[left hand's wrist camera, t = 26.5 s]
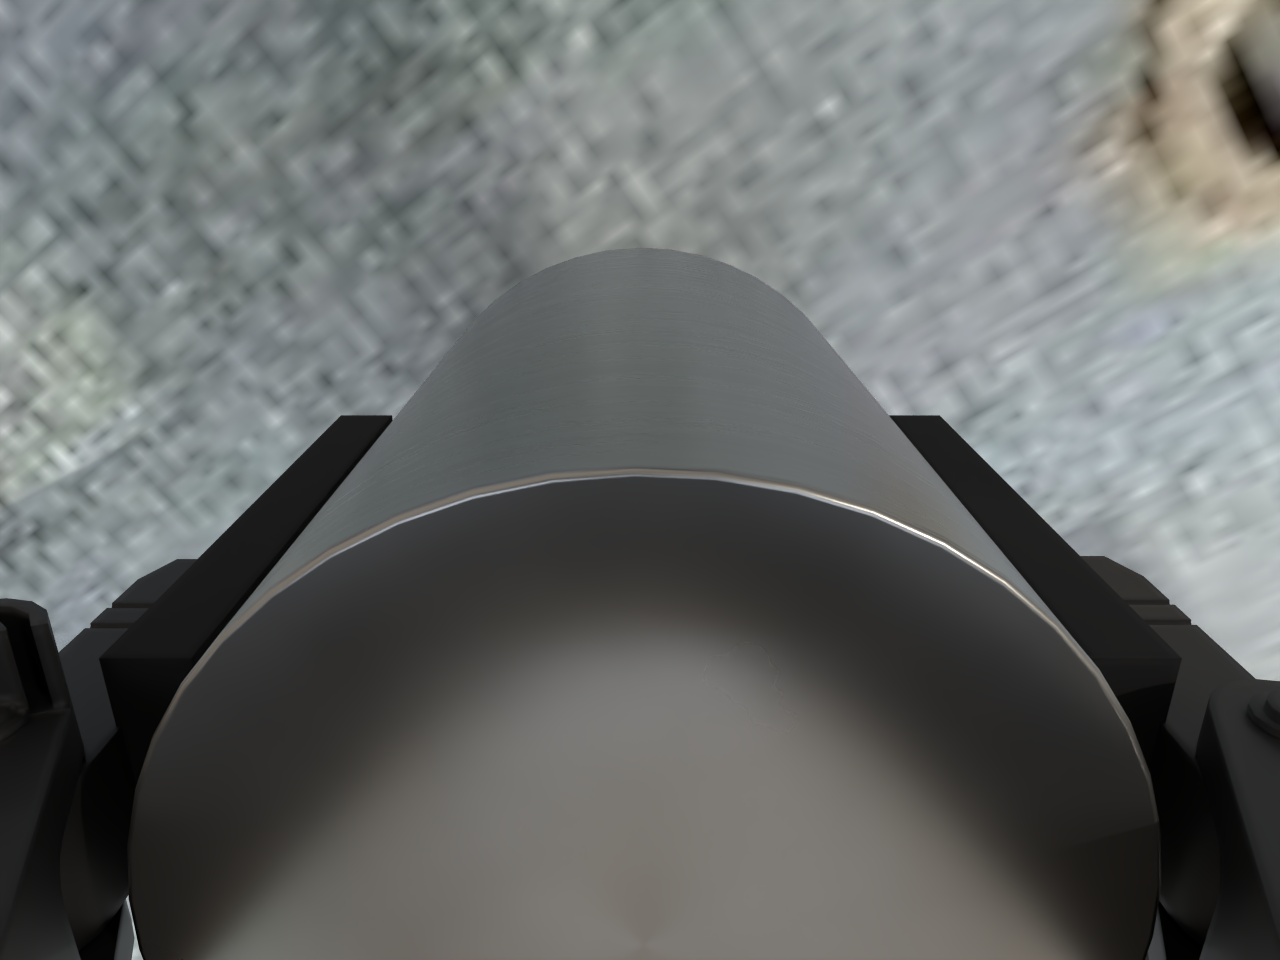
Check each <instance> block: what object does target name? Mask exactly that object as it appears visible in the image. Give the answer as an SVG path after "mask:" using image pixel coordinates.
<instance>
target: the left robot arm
mask: <svg viewBox="0 0 1280 960" xmlns="http://www.w3.org/2000/svg"><path fill="white" fill-rule="evenodd" d="M890 418H891V419H892V420H893V421H894V422H895V424H896V425H897V426H898V427H899V428H900V430H901V431H902V432H903V433H904V435H905V436H906V437H907V438H908V439H909V441H910V442H911V443H912V444H913V445H914V447H915V448H916V449H917V450H918V451H919V453H920V454H921V455H922V456H923V457H924V459H925V460H926V461H927V462H928V463H929V465H930V466H931V467H932V468H933V469H934V471H935V472H936V473H937V474H938V476H939V477H940V478H941V479H942V480H943V482H944V483H945V484H946V485H947V486H948V488H949V489H950V490H951V491H952V492H953V494H954V495H955V496H956V497H957V498H958V500H959V501H960V502H961V503H962V504H963V506H964V507H965V508H966V509H967V510H968V512H969V513H970V514H971V515H972V517H973V518H974V519H975V520H976V521H977V523H978V524H979V525H980V526H981V527H982V529H983V530H984V531H985V532H986V533H987V535H988V536H989V537H990V538H991V539H992V541H993V542H994V543H995V544H996V545H997V547H998V548H999V549H1000V550H1001V551H1002V553H1003V554H1004V555H1005V556H1006V558H1007V559H1008V560H1009V561H1010V562H1011V564H1012V565H1013V566H1014V567H1015V568H1016V570H1017V571H1018V572H1019V573H1020V574H1021V576H1022V577H1023V578H1024V579H1025V580H1026V582H1027V583H1028V584H1029V585H1030V586H1031V588H1032V589H1033V590H1034V591H1035V592H1036V594H1037V595H1038V596H1039V597H1040V598H1041V600H1042V601H1043V602H1044V603H1045V605H1046V606H1047V607H1048V608H1049V609H1050V611H1051V612H1052V613H1053V614H1054V615H1055V617H1056V618H1057V619H1058V620H1059V621H1060V623H1061V624H1062V625H1063V626H1064V627H1065V629H1066V630H1067V631H1068V632H1069V633H1070V635H1071V636H1072V637H1073V638H1074V639H1075V641H1076V642H1077V643H1078V644H1079V646H1080V647H1081V648H1082V649H1083V650H1084V652H1085V653H1086V654H1087V655H1088V656H1089V658H1090V659H1091V660H1092V661H1093V662H1094V664H1095V665H1096V666H1097V667H1098V668H1099V670H1100V671H1101V673H1102V675H1103V677H1104V678H1105V680H1106V682H1107V683H1108V685H1109V687H1110V688H1111V690H1112V692H1113V693H1114V695H1115V697H1116V698H1117V700H1118V702H1119V703H1120V705H1121V707H1122V708H1123V710H1124V712H1125V713H1126V715H1127V717H1128V718H1129V720H1130V722H1131V725H1132V727H1133V730H1134V733H1135V735H1136V738H1137V740H1138V743H1139V746H1140V748H1141V751H1142V754H1143V756H1144V759H1145V761H1146V764H1147V767H1148V769H1149V772H1150V775H1151V780H1152V785H1153V790H1154V796H1155V801H1156V806H1157V812H1158V817H1159V822H1160V828H1161V869H1162V886H1161V892H1160V898H1159V904H1158V910H1157V916H1156V922H1155V928H1154V934H1153V938H1152V941H1151V944H1150V947H1149V950H1148V953H1147V955H1146V958H1145V960H1280V681H1270V680H1259V679H1255V678H1254V677H1253V676H1252V675H1251V674H1250V673H1249V672H1247V671H1246V670H1245V669H1244V668H1243V667H1242V666H1241V665H1240V664H1239V663H1238V662H1237V661H1235V660H1234V659H1233V658H1232V657H1231V656H1230V655H1229V654H1228V653H1227V652H1226V651H1225V650H1223V649H1222V648H1221V647H1220V646H1219V645H1218V644H1217V643H1216V642H1215V641H1214V640H1213V639H1211V638H1210V637H1209V636H1208V635H1207V634H1206V633H1205V632H1204V631H1203V630H1202V629H1200V628H1199V627H1198V626H1197V625H1191V619H1190V618H1188V617H1187V616H1186V615H1185V614H1184V613H1183V612H1182V611H1181V610H1180V609H1179V608H1178V607H1176V606H1175V605H1170V604H1169V599H1168V598H1167V597H1166V596H1164V595H1163V594H1162V593H1161V592H1160V591H1159V590H1158V589H1157V588H1156V587H1155V586H1153V585H1152V584H1151V583H1150V582H1149V581H1148V580H1147V579H1146V578H1145V577H1144V576H1142V575H1140V574H1138V573H1136V572H1134V571H1132V570H1130V569H1128V568H1126V567H1124V566H1122V565H1120V564H1118V563H1116V562H1115V561H1113V560H1111V559H1109V558H1107V557H1105V556H1079V555H1078V554H1077V553H1076V552H1075V551H1074V550H1073V549H1072V548H1071V547H1070V546H1069V545H1068V544H1067V543H1066V542H1065V541H1064V540H1063V539H1062V538H1061V537H1060V536H1059V535H1058V534H1057V533H1056V532H1055V531H1054V530H1053V529H1052V528H1051V527H1050V526H1049V525H1048V524H1047V523H1046V522H1045V521H1044V520H1043V519H1042V518H1041V517H1040V516H1039V515H1038V514H1037V513H1036V512H1035V511H1034V510H1033V509H1032V508H1031V507H1030V506H1029V505H1028V504H1027V503H1026V502H1025V501H1024V500H1023V499H1022V498H1021V497H1020V496H1019V495H1018V494H1017V493H1016V492H1015V491H1014V490H1013V489H1012V488H1011V487H1010V486H1009V485H1008V484H1007V483H1006V482H1005V481H1004V480H1003V479H1002V478H1001V477H1000V476H999V475H998V474H997V473H996V472H995V471H994V470H993V469H992V468H991V467H990V466H989V465H988V464H987V463H986V462H985V461H984V460H983V459H982V458H981V457H980V456H979V455H978V454H977V453H976V452H975V451H974V450H973V449H972V448H971V447H970V446H969V445H968V444H967V443H966V442H965V441H964V440H963V439H962V438H961V437H960V436H959V435H958V434H957V433H956V432H955V431H954V430H953V429H952V428H951V427H950V425H949V424H948V423H947V422H946V421H945V420H944V419H943V418H942V417H941V416H890ZM391 422H392V416H340V417H339V418H338V419H337V420H336V421H335V422H334V423H333V424H332V425H331V426H330V427H329V428H328V429H327V430H326V431H325V432H324V433H323V434H322V435H321V436H320V437H319V438H318V439H317V440H316V441H315V442H314V443H313V444H312V445H311V446H310V447H309V448H308V449H307V450H306V451H305V452H304V453H303V454H302V455H301V456H300V457H299V458H298V459H297V460H296V461H295V462H294V463H293V464H292V465H291V466H290V467H289V468H288V469H287V470H286V471H285V472H284V473H283V474H282V475H281V476H280V477H279V478H278V479H277V480H276V481H275V482H274V483H273V484H272V485H271V486H270V487H269V488H268V489H267V490H266V491H265V492H264V493H263V494H262V495H261V496H260V497H259V498H258V499H257V500H256V501H255V502H254V503H253V504H252V505H251V506H250V507H249V508H248V509H247V510H246V511H245V512H244V513H243V514H242V515H241V516H240V517H239V518H238V519H237V520H236V521H235V522H234V523H233V524H232V525H231V526H230V527H229V528H228V529H227V530H226V531H225V532H224V533H223V534H222V535H221V536H220V537H219V538H218V539H217V540H216V541H215V542H214V543H213V544H212V545H211V546H210V547H209V548H208V549H207V550H206V551H205V552H204V553H203V554H202V555H201V556H200V557H199V558H198V559H177V560H175V561H173V562H171V563H169V564H167V565H165V566H163V567H161V568H159V569H157V570H155V571H153V572H152V573H150V574H148V575H146V576H144V577H142V578H140V579H138V580H137V581H136V582H135V583H134V584H133V585H131V586H130V587H129V588H128V589H127V590H126V591H125V592H124V593H123V594H122V595H121V596H120V597H118V598H117V599H116V600H115V601H114V602H113V603H112V608H107V609H105V610H104V611H103V612H102V613H101V614H100V615H99V616H98V617H97V618H96V619H95V620H94V621H92V622H91V627H90V628H85V629H84V630H83V631H82V632H81V633H79V634H78V635H77V636H76V637H75V638H74V639H73V640H72V641H71V642H70V643H69V644H68V645H66V646H65V647H64V648H63V649H62V650H61V651H60V652H59V653H58V650H57V646H56V642H55V639H54V635H53V631H52V628H51V624H50V620H49V617H48V613H47V610H46V609H44V608H42V607H41V606H39V605H37V604H36V603H34V602H32V601H24V600H16V599H8V598H5V599H0V960H131V959H132V952H133V945H134V933H133V926H132V920H131V916H130V913H129V909H128V905H127V902H126V898H127V896H128V895H129V888H128V860H127V843H128V836H129V829H130V822H131V815H132V808H133V801H134V794H135V788H136V785H137V782H138V779H139V776H140V773H141V770H142V767H143V764H144V761H145V758H146V755H147V752H148V749H149V746H150V743H151V740H152V737H153V735H154V733H155V731H156V729H157V727H158V725H159V724H160V722H161V720H162V718H163V716H164V714H165V712H166V711H167V709H168V707H169V705H170V703H171V701H172V699H173V698H174V696H175V694H176V692H177V690H178V688H179V686H180V685H181V683H182V682H183V680H184V679H185V678H186V676H187V675H188V674H189V673H190V671H191V670H192V669H193V667H194V666H195V665H196V664H197V662H198V661H199V660H200V658H201V657H202V656H203V655H204V653H205V652H206V651H207V650H208V648H209V647H210V646H211V644H212V643H213V642H214V641H215V639H216V638H217V637H218V635H219V634H220V633H221V632H222V630H223V629H224V628H225V627H226V625H227V624H228V623H229V622H230V621H231V619H232V618H233V617H234V616H235V614H236V613H237V612H238V611H239V609H240V608H241V607H242V606H243V605H244V603H245V602H246V601H247V600H248V598H249V597H250V596H251V595H252V593H253V592H254V591H255V590H256V588H257V587H258V586H259V585H260V584H261V582H262V581H263V580H264V579H265V577H266V576H267V575H268V574H269V572H270V571H271V570H272V569H273V568H274V566H275V565H276V564H277V563H278V561H279V560H280V559H281V558H282V556H283V555H284V554H285V553H286V552H287V550H288V549H289V548H290V547H291V545H292V544H293V543H294V542H295V540H296V539H297V538H298V537H299V536H300V534H301V533H302V532H303V531H304V529H305V528H306V527H307V526H308V524H309V523H310V522H311V521H312V520H313V518H314V517H315V516H316V515H317V513H318V512H319V511H320V510H321V508H322V507H323V506H324V505H325V503H326V502H327V501H328V500H329V499H330V497H331V496H332V495H333V494H334V492H335V491H336V490H337V489H338V487H339V486H340V485H341V484H342V483H343V481H344V480H345V479H346V478H347V476H348V475H349V474H350V473H351V471H352V470H353V469H354V468H355V467H356V465H357V464H358V463H359V462H360V460H361V459H362V458H363V457H364V455H365V454H366V453H367V452H368V451H369V449H370V448H371V447H372V446H373V444H374V443H375V442H376V441H377V439H378V438H379V437H380V436H381V434H382V433H383V432H384V431H385V430H386V428H387V427H388V426H389V425H390V423H391Z"/></svg>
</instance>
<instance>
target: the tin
mask: <svg viewBox="0 0 1280 960" xmlns="http://www.w3.org/2000/svg"><path fill="white" fill-rule="evenodd" d="M127 860H128V888H129V902H130V907H131V912H132V916H133V921H134V926H135V931H136V935H137V940H138V945H139V950H140V952H141V955H142V957H143V960H1145V958H1146V955H1147V953H1148V950H1149V947H1150V944H1151V941H1152V938H1153V934H1154V928H1155V922H1156V916H1157V910H1158V904H1159V898H1160V892H1161V886H1162V869H1161V828H1160V822H1159V817H1158V812H1157V806H1156V801H1155V796H1154V790H1153V785H1152V780H1151V775H1150V772H1149V769H1148V767H1147V764H1146V761H1145V759H1144V756H1143V754H1142V751H1141V748H1140V746H1139V743H1138V740H1137V738H1136V735H1135V733H1134V730H1133V727H1132V725H1131V722H1130V720H1129V718H1128V717H1127V715H1126V713H1125V712H1124V710H1123V708H1122V707H1121V705H1120V703H1119V702H1118V700H1117V698H1116V697H1115V695H1114V693H1113V692H1112V690H1111V688H1110V687H1109V685H1108V683H1107V682H1106V680H1105V678H1104V677H1103V675H1102V673H1101V671H1100V670H1099V668H1098V667H1097V666H1096V665H1095V664H1094V662H1093V661H1092V660H1091V659H1090V658H1089V656H1088V655H1087V654H1086V653H1085V652H1084V650H1083V649H1082V648H1081V647H1080V646H1079V644H1078V643H1077V642H1076V641H1075V639H1074V638H1073V637H1072V636H1071V635H1070V633H1069V632H1068V631H1067V630H1066V629H1065V627H1064V626H1063V625H1062V624H1061V623H1060V621H1059V620H1058V619H1057V618H1056V617H1055V615H1054V614H1053V613H1052V612H1051V611H1050V609H1049V608H1048V607H1047V606H1046V605H1045V603H1044V602H1043V601H1042V600H1041V598H1040V597H1039V596H1038V595H1037V594H1036V592H1035V591H1034V590H1033V589H1032V588H1031V586H1030V585H1029V584H1028V583H1027V582H1026V580H1025V579H1024V578H1023V577H1022V576H1021V574H1020V573H1019V572H1018V571H1017V570H1016V568H1015V567H1014V566H1013V565H1012V564H1011V562H1010V561H1009V560H1008V559H1007V558H1006V556H1005V555H1004V554H1003V553H1002V551H1001V550H1000V549H999V548H998V547H997V545H996V544H995V543H994V542H993V541H992V539H991V538H990V537H989V536H988V535H987V533H986V532H985V531H984V530H983V529H982V527H981V526H980V525H979V524H978V523H977V521H976V520H975V519H974V518H973V517H972V515H971V514H970V513H969V512H968V510H967V509H966V508H965V507H964V506H963V504H962V503H961V502H960V501H959V500H958V498H957V497H956V496H955V495H954V494H953V492H952V491H951V490H950V489H949V488H948V486H947V485H946V484H945V483H944V482H943V480H942V479H941V478H940V477H939V476H938V474H937V473H936V472H935V471H934V469H933V468H932V467H931V466H930V465H929V463H928V462H927V461H926V460H925V459H924V457H923V456H922V455H921V454H920V453H919V451H918V450H917V449H916V448H915V447H914V445H913V444H912V443H911V442H910V441H909V439H908V438H907V437H906V436H905V435H904V433H903V432H902V431H901V430H900V428H899V427H898V426H897V425H896V424H895V422H894V421H893V420H892V419H891V418H890V416H889V415H888V414H887V413H886V412H885V410H884V409H883V408H882V407H881V406H880V404H879V403H878V402H877V401H876V400H875V398H874V397H873V396H872V395H871V394H870V392H869V391H868V390H867V389H866V387H865V386H864V385H863V384H862V383H861V381H860V380H859V379H858V378H857V377H856V375H855V374H854V373H853V372H852V371H851V369H850V368H849V367H848V366H847V365H846V363H845V362H844V361H843V360H842V359H841V357H840V356H839V355H838V354H837V353H836V351H835V350H834V349H833V348H832V346H831V345H830V344H829V343H828V342H827V340H826V339H825V338H824V337H823V336H822V335H821V333H820V332H819V331H818V330H817V329H816V327H815V326H814V325H813V324H812V323H811V322H810V320H809V319H808V318H807V317H806V316H805V315H804V314H803V313H802V312H801V311H800V310H799V309H798V308H796V307H795V306H794V305H793V304H792V303H791V302H790V301H789V300H788V299H786V298H785V297H784V296H783V295H782V294H780V293H779V292H777V291H776V290H774V289H773V288H771V287H770V286H768V285H767V284H765V283H764V282H762V281H761V280H759V279H758V278H756V277H754V276H752V275H749V274H747V273H745V272H743V271H741V270H739V269H737V268H735V267H733V266H731V265H728V264H725V263H722V262H719V261H716V260H713V259H710V258H707V257H704V256H701V255H696V254H691V253H685V252H680V251H675V250H669V249H648V248H632V249H620V250H609V251H603V252H598V253H594V254H589V255H585V256H580V257H576V258H573V259H570V260H568V261H565V262H562V263H560V264H557V265H554V266H552V267H549V268H546V269H544V270H542V271H541V272H539V273H537V274H535V275H533V276H531V277H529V278H528V279H526V280H524V281H522V282H520V283H518V284H517V285H516V286H514V287H513V288H512V289H510V290H509V291H507V292H506V293H505V294H503V295H502V296H501V297H499V298H498V299H496V300H495V301H494V302H493V303H492V304H491V305H490V306H489V307H488V308H487V309H486V310H485V311H484V312H483V313H481V314H480V315H479V316H478V317H477V318H476V319H475V320H474V321H473V322H472V324H471V325H470V326H469V327H468V329H467V330H466V331H465V332H464V333H463V335H462V336H461V337H460V338H459V340H458V341H457V342H456V343H455V345H454V346H453V347H452V348H451V349H450V351H449V352H448V353H447V354H446V356H445V357H444V358H443V359H442V361H441V362H440V363H439V364H438V366H437V367H436V368H435V369H434V370H433V372H432V373H431V374H430V375H429V377H428V378H427V379H426V380H425V382H424V383H423V384H422V385H421V386H420V388H419V389H418V390H417V391H416V393H415V394H414V395H413V396H412V398H411V399H410V400H409V401H408V402H407V404H406V405H405V406H404V407H403V409H402V410H401V411H400V412H399V414H398V415H397V416H396V417H395V418H394V420H393V421H392V422H391V423H390V425H389V426H388V427H387V428H386V430H385V431H384V432H383V433H382V434H381V436H380V437H379V438H378V439H377V441H376V442H375V443H374V444H373V446H372V447H371V448H370V449H369V451H368V452H367V453H366V454H365V455H364V457H363V458H362V459H361V460H360V462H359V463H358V464H357V465H356V467H355V468H354V469H353V470H352V471H351V473H350V474H349V475H348V476H347V478H346V479H345V480H344V481H343V483H342V484H341V485H340V486H339V487H338V489H337V490H336V491H335V492H334V494H333V495H332V496H331V497H330V499H329V500H328V501H327V502H326V503H325V505H324V506H323V507H322V508H321V510H320V511H319V512H318V513H317V515H316V516H315V517H314V518H313V520H312V521H311V522H310V523H309V524H308V526H307V527H306V528H305V529H304V531H303V532H302V533H301V534H300V536H299V537H298V538H297V539H296V540H295V542H294V543H293V544H292V545H291V547H290V548H289V549H288V550H287V552H286V553H285V554H284V555H283V556H282V558H281V559H280V560H279V561H278V563H277V564H276V565H275V566H274V568H273V569H272V570H271V571H270V572H269V574H268V575H267V576H266V577H265V579H264V580H263V581H262V582H261V584H260V585H259V586H258V587H257V588H256V590H255V591H254V592H253V593H252V595H251V596H250V597H249V598H248V600H247V601H246V602H245V603H244V605H243V606H242V607H241V608H240V609H239V611H238V612H237V613H236V614H235V616H234V617H233V618H232V619H231V621H230V622H229V623H228V624H227V625H226V627H225V628H224V629H223V630H222V632H221V633H220V634H219V635H218V637H217V638H216V639H215V641H214V642H213V643H212V644H211V646H210V647H209V648H208V650H207V651H206V652H205V653H204V655H203V656H202V657H201V658H200V660H199V661H198V662H197V664H196V665H195V666H194V667H193V669H192V670H191V671H190V673H189V674H188V675H187V676H186V678H185V679H184V680H183V682H182V683H181V685H180V686H179V688H178V690H177V692H176V694H175V696H174V698H173V699H172V701H171V703H170V705H169V707H168V709H167V711H166V712H165V714H164V716H163V718H162V720H161V722H160V724H159V725H158V727H157V729H156V731H155V733H154V735H153V737H152V740H151V743H150V746H149V749H148V752H147V755H146V758H145V761H144V764H143V767H142V770H141V773H140V776H139V779H138V782H137V785H136V788H135V794H134V801H133V808H132V815H131V822H130V829H129V836H128V843H127Z"/></svg>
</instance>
